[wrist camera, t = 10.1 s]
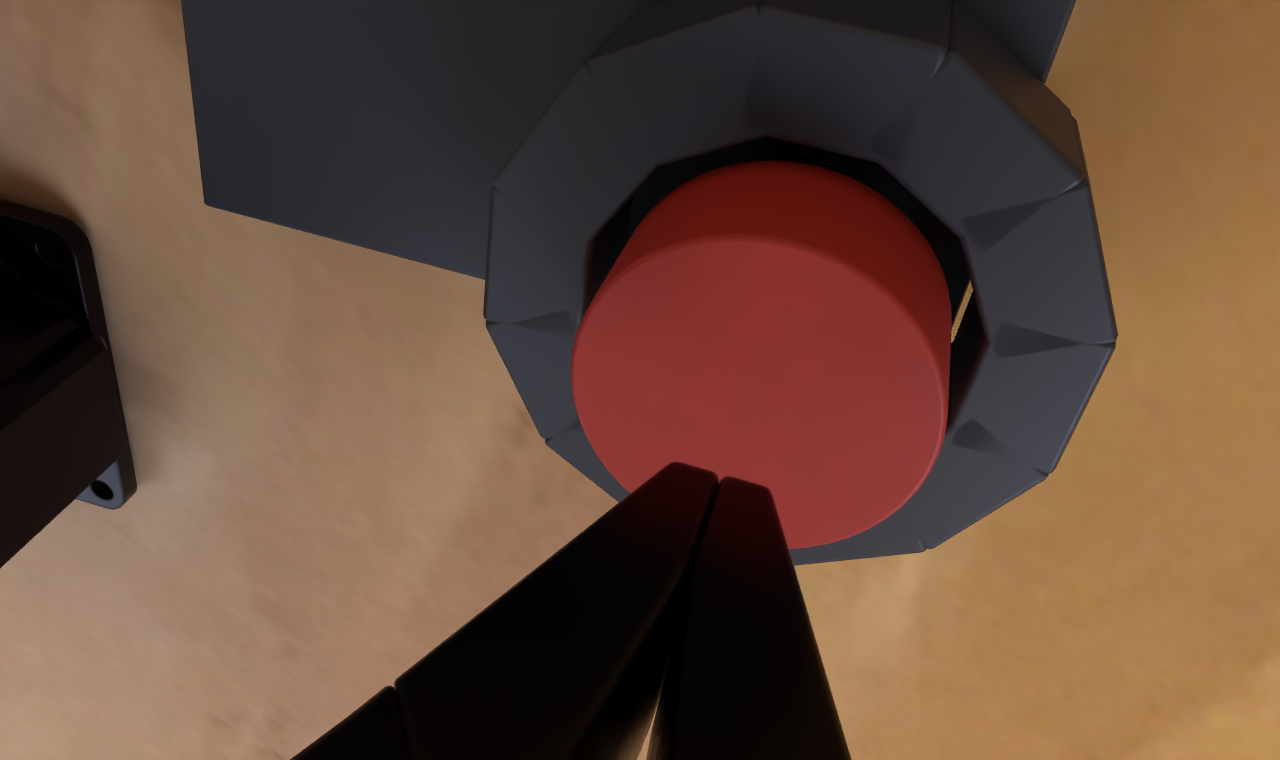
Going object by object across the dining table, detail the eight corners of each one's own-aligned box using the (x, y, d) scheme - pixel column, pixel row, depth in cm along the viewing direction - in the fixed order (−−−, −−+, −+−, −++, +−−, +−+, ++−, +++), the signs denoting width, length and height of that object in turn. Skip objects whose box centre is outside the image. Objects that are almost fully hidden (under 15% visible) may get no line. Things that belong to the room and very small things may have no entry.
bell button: (600, 403, 13) (552, 495, 11) (641, 120, 11) (590, 189, 9) (895, 485, 12) (885, 592, 11) (1001, 207, 10) (1005, 295, 9)
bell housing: (293, 246, 17) (137, 380, 14) (236, -658, 11) (-71, -791, 8) (979, 431, 16) (980, 626, 13) (1373, -490, 9) (1573, -566, 6)
